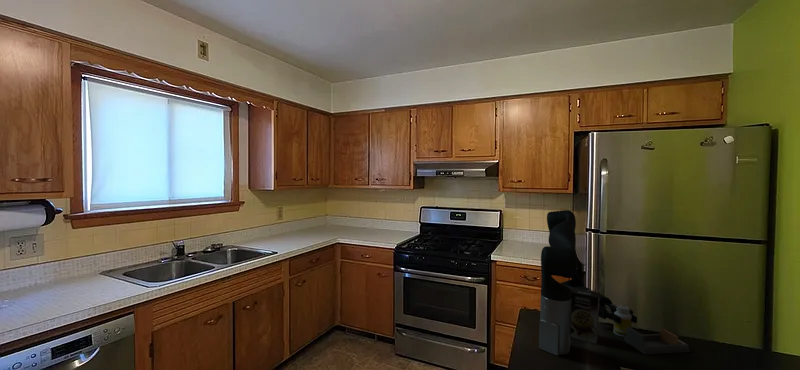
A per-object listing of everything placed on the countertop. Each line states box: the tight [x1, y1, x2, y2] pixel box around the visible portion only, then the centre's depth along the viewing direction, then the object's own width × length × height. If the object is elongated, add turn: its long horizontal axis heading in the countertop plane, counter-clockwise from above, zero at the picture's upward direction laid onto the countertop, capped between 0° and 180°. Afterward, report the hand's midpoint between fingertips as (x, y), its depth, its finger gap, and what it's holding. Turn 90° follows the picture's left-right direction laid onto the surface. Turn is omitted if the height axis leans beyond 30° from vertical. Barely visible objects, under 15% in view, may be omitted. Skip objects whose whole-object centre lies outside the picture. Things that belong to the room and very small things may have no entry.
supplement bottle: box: [612, 304, 633, 338], centre depth 125 cm, size 5×5×10 cm
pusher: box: [660, 328, 679, 345], centre depth 117 cm, size 1×6×4 cm, turn 6°
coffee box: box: [570, 287, 601, 344], centre depth 122 cm, size 9×6×16 cm
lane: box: [623, 326, 691, 355], centre depth 116 cm, size 16×9×5 cm, turn 96°
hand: (628, 320), depth 122 cm, fingers closed on supplement bottle, 5 cm apart
